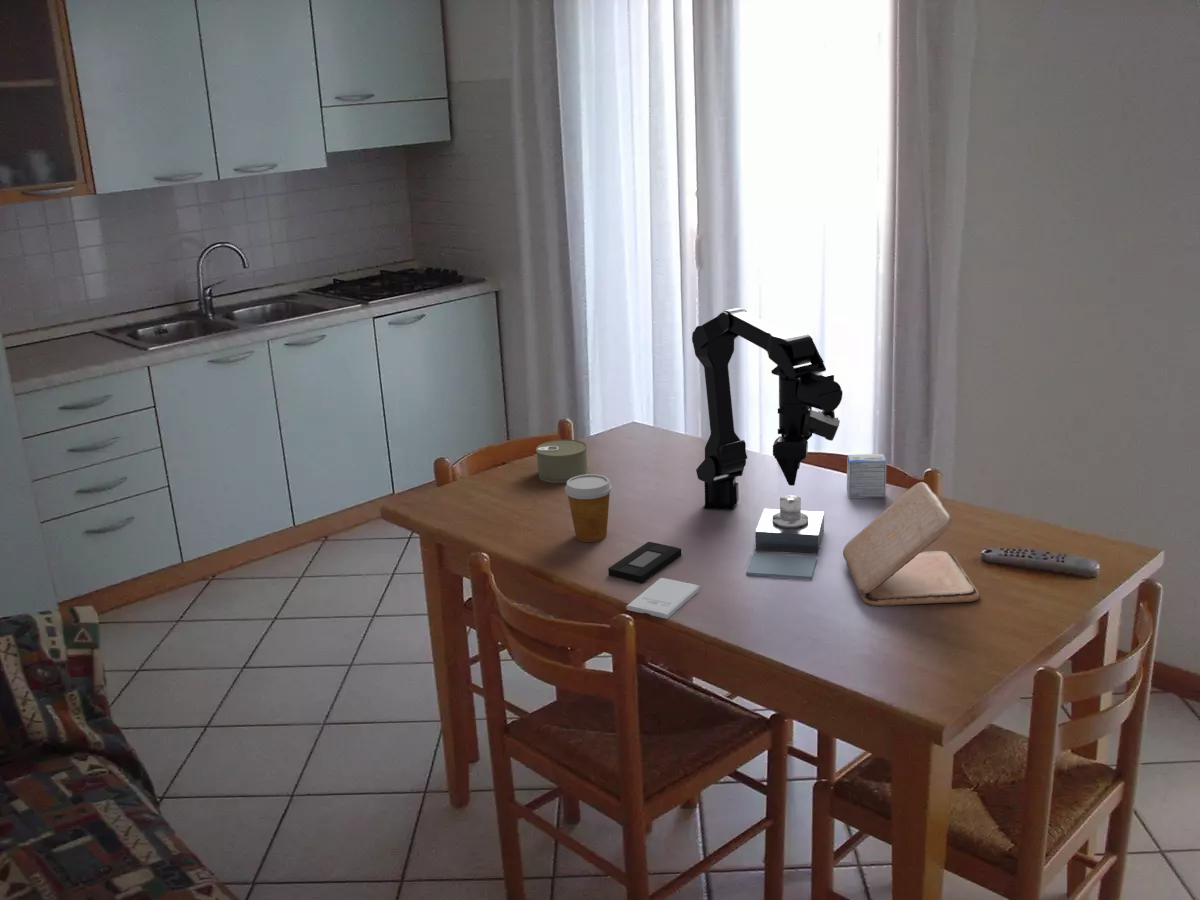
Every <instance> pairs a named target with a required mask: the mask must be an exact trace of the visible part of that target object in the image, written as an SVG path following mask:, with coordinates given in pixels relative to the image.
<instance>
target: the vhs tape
mask: <svg viewBox="0 0 1200 900" xmlns="http://www.w3.org/2000/svg"><path fill="white" fill-rule="evenodd" d="M681 557H682V548H681V547H677V546H676V547H675V546H672V545H668V544H664V543H663V544H662V543H657V542H654V541H647V542H646V543H644V544H643V545H641V546H640V547H638V548H637V549H635V550H634V551H632V552H630V553H629V554H627V555H625V556H624V557H623V558H621V559H620V560H619V561H617V562H615V563H614V564H612V565H610V567H608V576H609V577H612V578H616V579H621V580H626V581H629V582H633V583H637V584H641V585H642V584H643V583H645V582H647V580H649V579H651V578H652V577H653V576H655V575H656V574H658V573H659V572H660V571H662V570H663V569H665V568H666V567H668V566H669V565H671V564H672V563H673V562H675V561H676V560H677V559H679V558H681Z"/></svg>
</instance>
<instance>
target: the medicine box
mask: <svg viewBox="0 0 1200 900" xmlns="http://www.w3.org/2000/svg"><path fill="white" fill-rule="evenodd" d="M846 461H847V462H846V492H847V496H848V498H849V499H868V498H872V499H874V498H886V495H887V494H886V492H887V462H888V461H887V459H886V456H885V455H884V454H883V453H879V454H878V453H877V454H876V453H867V454H866V453H865V454H863V453H862V454H848V455H847V456H846Z"/></svg>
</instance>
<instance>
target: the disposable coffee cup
mask: <svg viewBox="0 0 1200 900" xmlns="http://www.w3.org/2000/svg"><path fill="white" fill-rule="evenodd" d="M565 484H566V485H565V486H564V491H565V493H566V495H567V499H568V503H569V508H570V513H571V518H572V524H573V529H574V534H575V539H576V540H577V541H579V542H583V543H596V542H600V541H602V540H604V539H605V538H607V535H608V534H607V533H608V521H609V520H608V519H609V511H610V510H609V509H610V507H609V506H610V495H611V494H610V492H611V490H612V488H613V486H612V483H611V482H610V479H609V478H608V477H607V476H606V475H602V474H594V473H588V474H586V475H579V476H575V477H572V478H570V479H569V480H568V481H567V483H565Z"/></svg>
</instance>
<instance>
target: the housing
mask: <svg viewBox="0 0 1200 900" xmlns="http://www.w3.org/2000/svg"><path fill="white" fill-rule="evenodd" d="M779 512H780V508H779V509H776V508H764V509H763V512H762V514H761V517H760V519H759V521H758V523H757V524H758V525H757V527H756V528H755V551H758V552H759V551H760V552H761V551H762V552H773V553H777V552H778V553H787V554H788V553H790V554H791V553H792V554H807V555H808V554H809V555H819V552H820V548H821V544H822V540H823V535H824V532H825V511H819V510H818V511H816V510H815V511H814V510H813V511H812V510H801V513H804V514H806V515H807V516H808V524H807V525H805V526H803V527H800V528H782V527H778V526H776V525H774V524H773V522H772V517H773V515H775V514H776V513H779Z"/></svg>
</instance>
